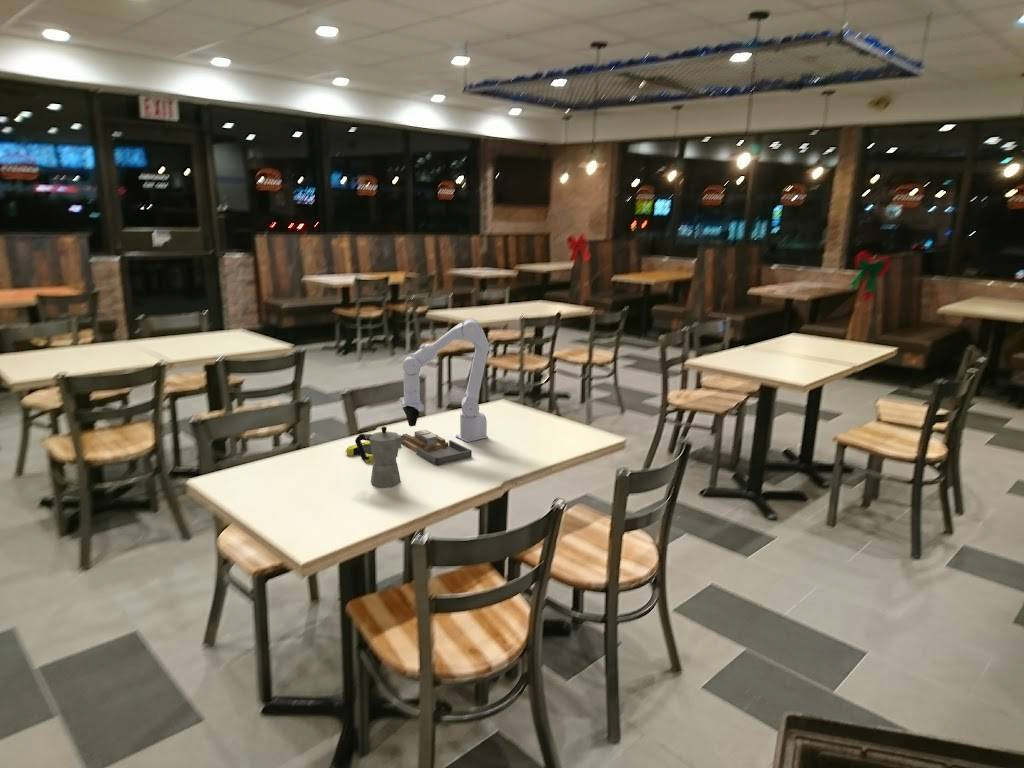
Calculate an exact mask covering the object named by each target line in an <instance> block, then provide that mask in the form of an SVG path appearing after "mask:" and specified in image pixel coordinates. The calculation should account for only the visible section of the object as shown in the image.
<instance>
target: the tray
mask: <svg viewBox="0 0 1024 768" xmlns="http://www.w3.org/2000/svg"><path fill="white" fill-rule="evenodd" d="M415 455H417V456H419V457H421V458H423V459H424V460H425V461H427V462H429V463H431V464H433V465H434V466H441V465H444V464H449V463H453V462H458V461H460V460H461V461H462V460H465V459H469V458H472V457H473V453H472V449H469V448H467V447H465V446H463V445H461V444H460V443H457V442H455V441H453V440H451V439H450V440H448V446H446V447H441V448H437V449H432V450H428V451H424V450H422V449H420V448H419V447H417V448H416V452H415Z"/></svg>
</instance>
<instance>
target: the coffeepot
mask: <svg viewBox="0 0 1024 768" xmlns="http://www.w3.org/2000/svg"><path fill="white" fill-rule="evenodd" d="M380 428H381V431H379V432H374V433H360V434H359V435H358V436H356V437H355V440H354V442H355V445H357V447H358V450H359V452H360V454H359V455H360V457H361V459H362V460H363V461H365V460H369V457H366V456H365V451H364V449H363V446H362V443H363V442H362V441H365V442H366V441H370V445H371V450H372V455H373V458H374V462H373V464H372V470H371V477H370V483H371V485H372V486H373V487H374V488H378V489H388V488H389V489H390V488H393V487H396V486H399V484H400V483H402V481H401V480H402V479H401V475H400V471H399V466H398V462H397V457H399V456H398V455H399V454H398V453H399V449H400V448H401V447H402V445H403V444H402V442H403V441H404V440H405V439H406V437H405V436H403V434H402V435H401V434H399V433H397V432H393V431H387V428H388V427H387V426H382V427H380ZM400 446H401V447H400Z"/></svg>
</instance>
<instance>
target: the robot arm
mask: <svg viewBox="0 0 1024 768" xmlns="http://www.w3.org/2000/svg"><path fill="white" fill-rule="evenodd" d="M487 338H488V337H486V334H485V331H484V329H483V327H482V325H481V324H480V323H479V321H477V320H476V319H475V318H470V317H469V318H466V319H465V320H464V321H463V322H460V323H458V324H457V325H455V326H454V327H453V328H451V329H450V330H449V331H447V332H446V333H444V334H443V335H442V336H441V337H440V338H438V339H437V340H436V341H435V342H433V343H426V344H424V343H422V345H421V346H420V348H419V349H418V350H417V351H415V352H414V353H413V352H412V353H410V356H407V357H406V358H405V359H404V361H403V363H402V369H403V397H399V403H400V404H401V406H403V407H402V410H403V412H404V414H405V416H406V419H407V423H408V426H409V427H416V425H417V422H418V418H419V415H420V413H421V412H425V405H424V404H423V403H422V402H421V398H420V397H421V396H420V395H421V394H420V393H421V392H420V391H421V389H420V388H421V386H420V385H421V383H420V375H419V374H420V373H419V371H420V368H424V366H426V365H427V364H429V363H430V362H431V361H433V360H434V359H436V358H437V357H438V352H439V351H440V350H443V348H444V347H446V346H448V345H449V344H451V343H452V342H454V341H455V340H464V339H467V340H468V341H470V342H471V343H472V344H473V346H474V347H475V349H474V353H473V359H472V364H471V367H470V373H469V378H468V381H467V382H468V383H467V386H466V387H467V388H466V391H465V394H464V395H463V397H462V398H461V400H460V403H461V412H460V413H459V414H460V415H459V416H460V417H459V421H460V422H459V423H460V424H459V425H460V426H459V427H460V431H459V433H460V434H456V435H455V437H456V438H457V439H459V440H462V441H463V442H466V443H470V442H473V441H479V440H482V439H487V438H489V436H488V435H487V433H488V431H487V428H488V427H487V426H488V422H487V417H486V415H485V414H484V413H483V412H480V406H479V399H480V391H481V385H482V381H483V377H484V373H485V372H484V371H485V367H486V361H487V357H488V352H489V348H490V344H489V340H488V339H487Z"/></svg>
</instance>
